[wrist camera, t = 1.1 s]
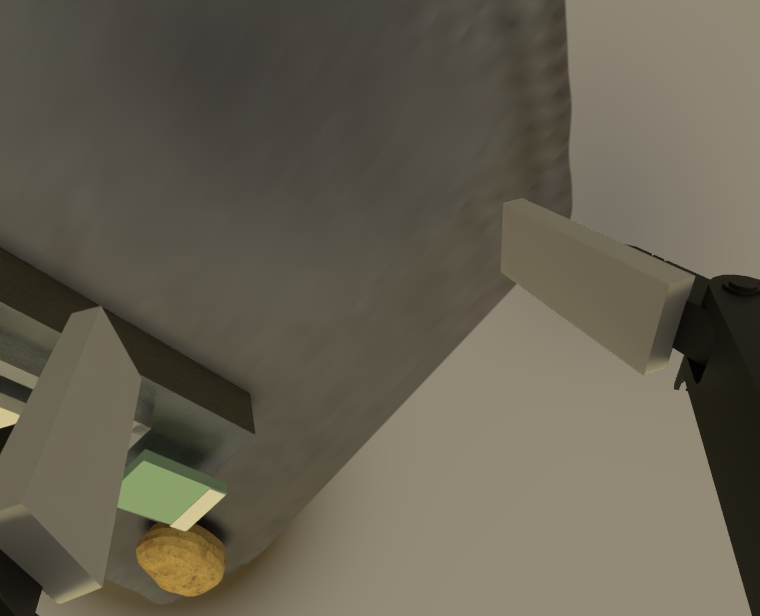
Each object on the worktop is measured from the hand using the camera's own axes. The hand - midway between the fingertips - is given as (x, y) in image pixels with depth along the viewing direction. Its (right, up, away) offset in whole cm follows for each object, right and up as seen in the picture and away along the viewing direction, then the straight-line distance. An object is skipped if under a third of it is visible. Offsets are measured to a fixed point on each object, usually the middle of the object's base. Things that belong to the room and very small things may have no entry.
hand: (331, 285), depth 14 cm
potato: (-22, -27, +37) cm, 51 cm away
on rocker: (-16, -16, +22) cm, 32 cm away
